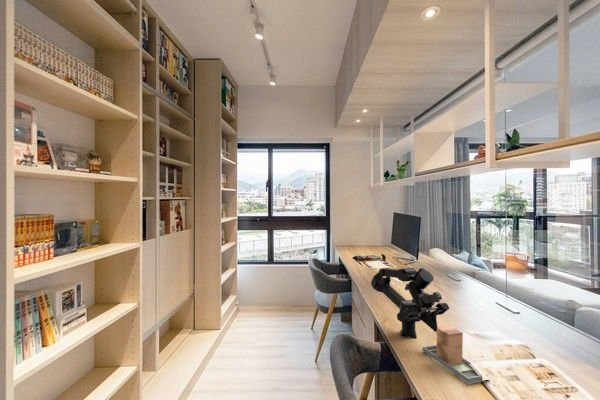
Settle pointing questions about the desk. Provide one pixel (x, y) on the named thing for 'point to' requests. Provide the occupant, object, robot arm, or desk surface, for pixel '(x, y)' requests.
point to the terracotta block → (449, 344)
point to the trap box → (455, 367)
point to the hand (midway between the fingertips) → (436, 331)
